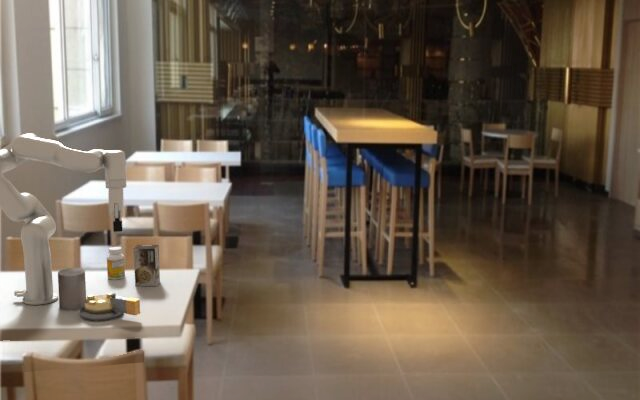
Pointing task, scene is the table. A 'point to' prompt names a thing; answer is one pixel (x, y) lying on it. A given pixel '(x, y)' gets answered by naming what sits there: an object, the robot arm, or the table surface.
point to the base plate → (99, 316)
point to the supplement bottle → (115, 263)
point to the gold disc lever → (111, 304)
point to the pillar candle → (71, 288)
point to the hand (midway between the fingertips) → (118, 231)
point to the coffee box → (146, 265)
